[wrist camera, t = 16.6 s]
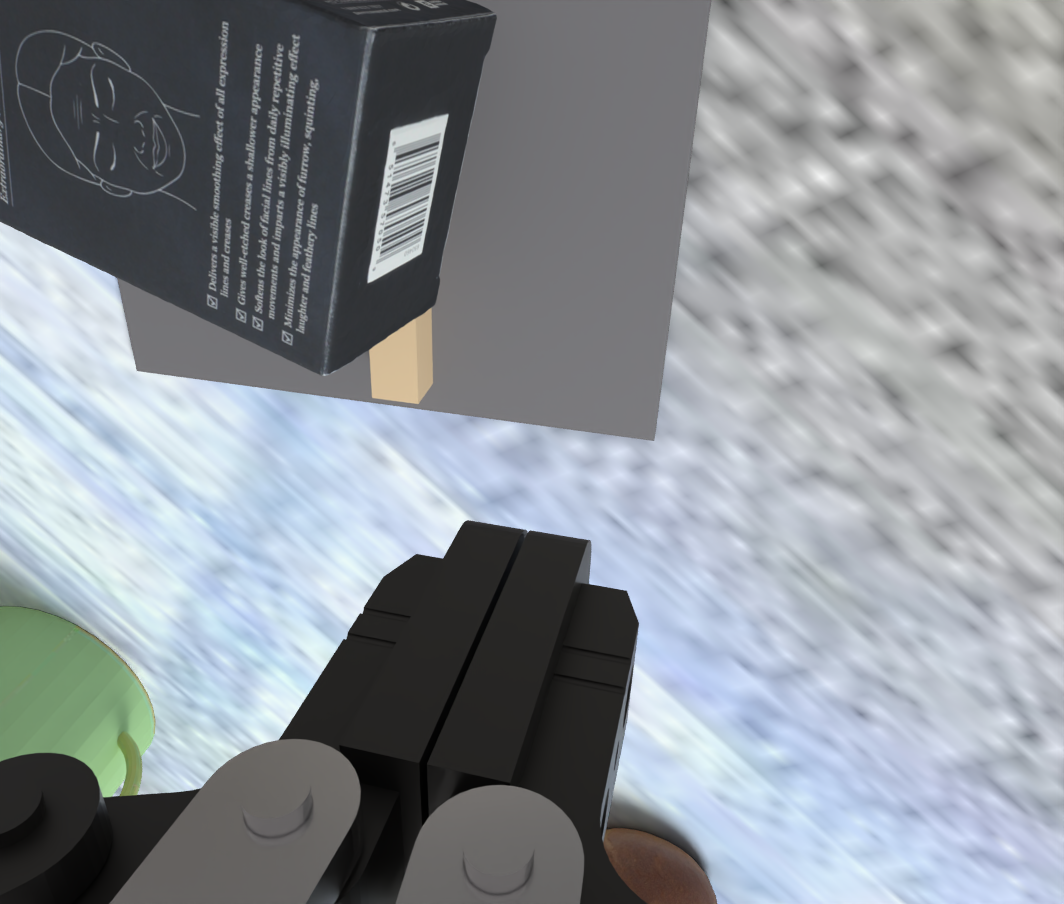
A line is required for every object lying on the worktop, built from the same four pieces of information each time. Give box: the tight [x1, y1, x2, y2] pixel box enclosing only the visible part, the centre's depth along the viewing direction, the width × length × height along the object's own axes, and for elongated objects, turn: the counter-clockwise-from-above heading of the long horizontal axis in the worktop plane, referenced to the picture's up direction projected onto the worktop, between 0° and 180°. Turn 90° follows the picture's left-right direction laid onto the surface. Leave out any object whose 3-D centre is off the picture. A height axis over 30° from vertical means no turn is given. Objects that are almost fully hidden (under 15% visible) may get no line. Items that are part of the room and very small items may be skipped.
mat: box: [117, 0, 711, 441], centre depth 24 cm, size 18×16×2 cm
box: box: [0, 0, 497, 376], centre depth 21 cm, size 8×6×11 cm
